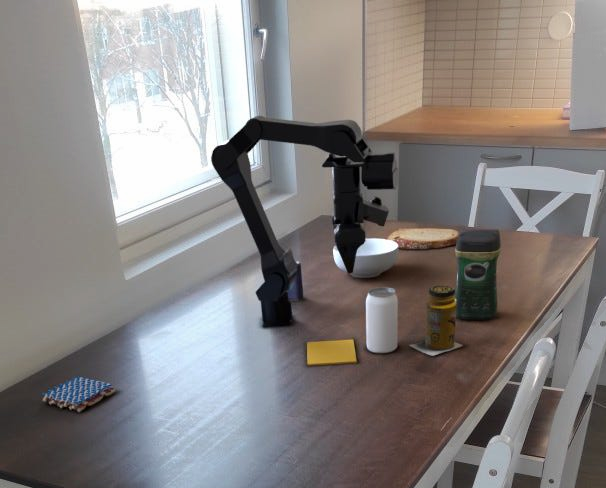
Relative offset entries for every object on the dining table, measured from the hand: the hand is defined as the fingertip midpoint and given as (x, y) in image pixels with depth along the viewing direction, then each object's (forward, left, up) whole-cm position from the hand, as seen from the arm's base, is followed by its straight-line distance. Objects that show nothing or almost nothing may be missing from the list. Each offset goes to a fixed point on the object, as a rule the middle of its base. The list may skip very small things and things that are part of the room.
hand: (349, 266), depth 175 cm
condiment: (+17, -16, -13) cm, 27 cm away
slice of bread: (+24, +62, -13) cm, 68 cm away
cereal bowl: (+6, +37, -13) cm, 40 cm away
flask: (-15, +21, -13) cm, 29 cm away
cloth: (-5, -16, -13) cm, 21 cm away
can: (+6, -15, -13) cm, 21 cm away
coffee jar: (+28, +1, -13) cm, 31 cm away
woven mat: (-55, -31, -13) cm, 65 cm away
